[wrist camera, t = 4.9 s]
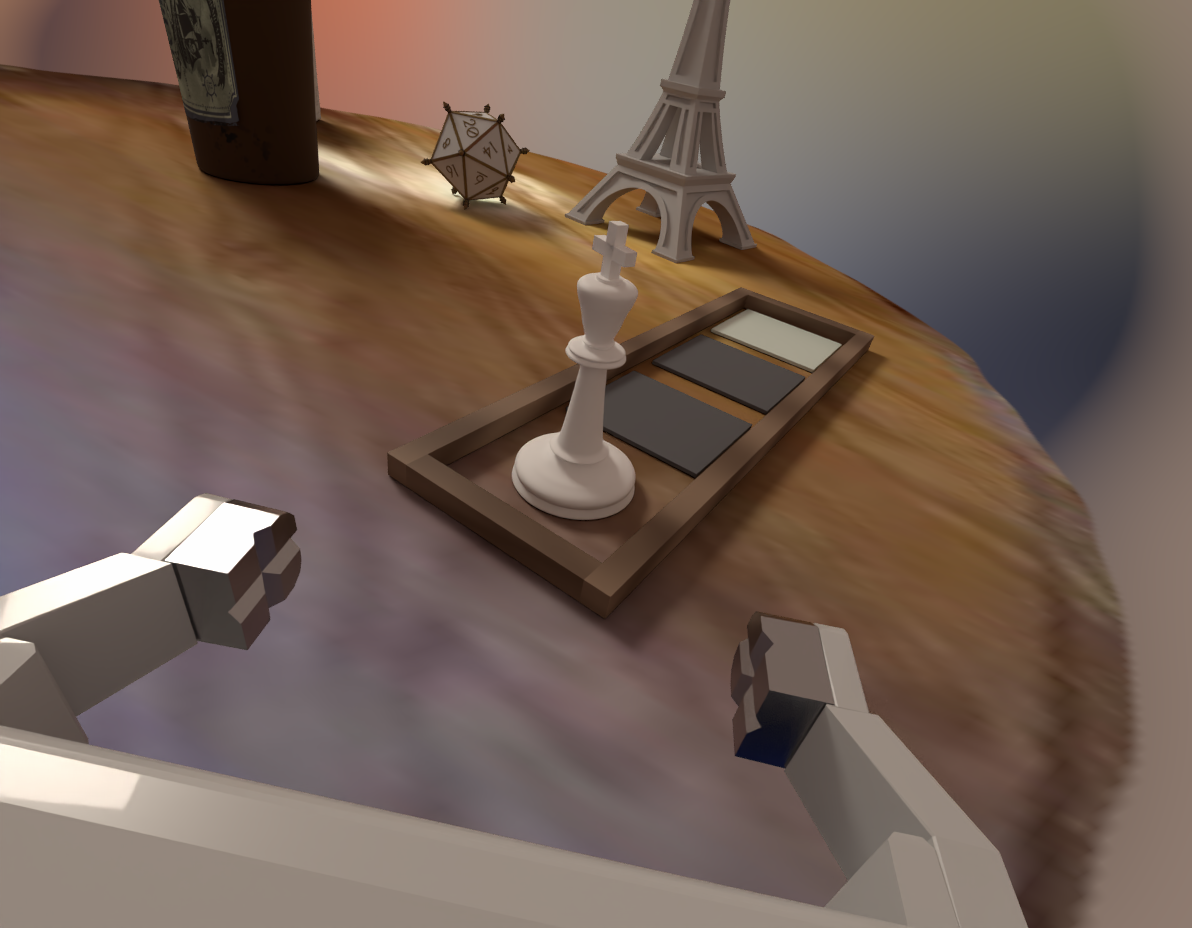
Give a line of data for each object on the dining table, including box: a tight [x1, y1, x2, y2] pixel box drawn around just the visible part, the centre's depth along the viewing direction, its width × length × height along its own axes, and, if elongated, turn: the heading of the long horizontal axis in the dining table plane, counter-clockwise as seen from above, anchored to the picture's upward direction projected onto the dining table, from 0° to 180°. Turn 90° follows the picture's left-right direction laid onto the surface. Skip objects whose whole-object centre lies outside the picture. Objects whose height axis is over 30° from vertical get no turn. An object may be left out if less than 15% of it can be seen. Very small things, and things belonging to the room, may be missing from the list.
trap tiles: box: [566, 335, 805, 478], centre depth 33 cm, size 14×7×1 cm, turn 145°
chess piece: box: [512, 221, 638, 520], centre depth 22 cm, size 5×5×10 cm
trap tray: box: [387, 288, 874, 619], centre depth 32 cm, size 32×10×1 cm, turn 145°
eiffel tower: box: [565, 0, 757, 263], centre depth 51 cm, size 13×13×30 cm
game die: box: [421, 102, 529, 209], centre depth 55 cm, size 9×8×10 cm
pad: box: [711, 309, 842, 373], centre depth 41 cm, size 6×7×1 cm
